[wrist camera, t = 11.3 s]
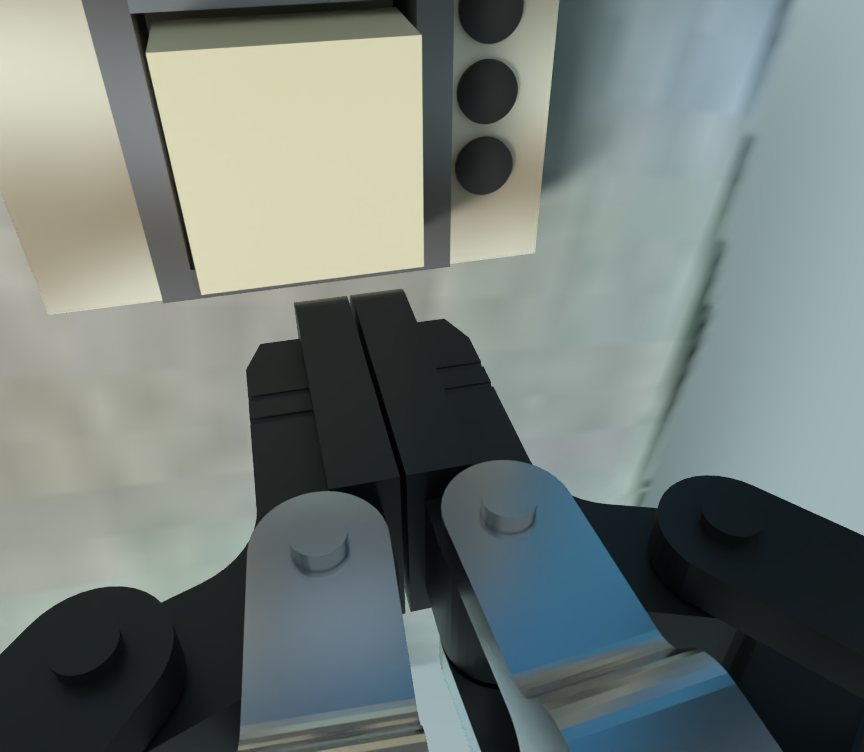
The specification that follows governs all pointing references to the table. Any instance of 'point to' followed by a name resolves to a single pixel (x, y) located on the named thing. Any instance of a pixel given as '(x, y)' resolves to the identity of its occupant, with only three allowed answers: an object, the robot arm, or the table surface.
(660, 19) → the table surface
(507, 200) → the button board
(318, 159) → the button three
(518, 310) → the table surface
